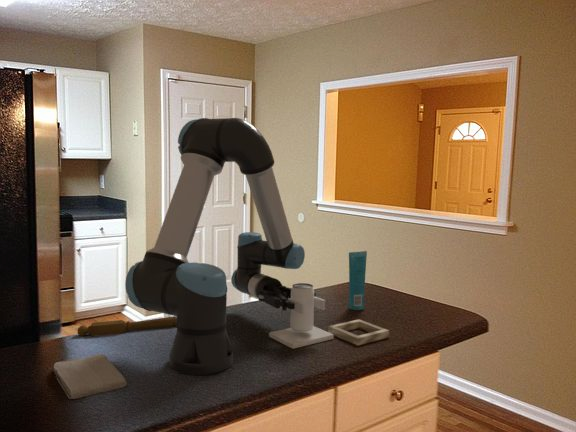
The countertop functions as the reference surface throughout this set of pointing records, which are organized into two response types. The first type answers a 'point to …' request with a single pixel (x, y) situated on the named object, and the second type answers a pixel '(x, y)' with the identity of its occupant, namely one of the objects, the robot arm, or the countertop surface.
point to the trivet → (300, 337)
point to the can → (306, 296)
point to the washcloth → (88, 376)
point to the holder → (374, 335)
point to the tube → (357, 279)
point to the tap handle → (124, 326)
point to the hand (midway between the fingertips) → (313, 307)
